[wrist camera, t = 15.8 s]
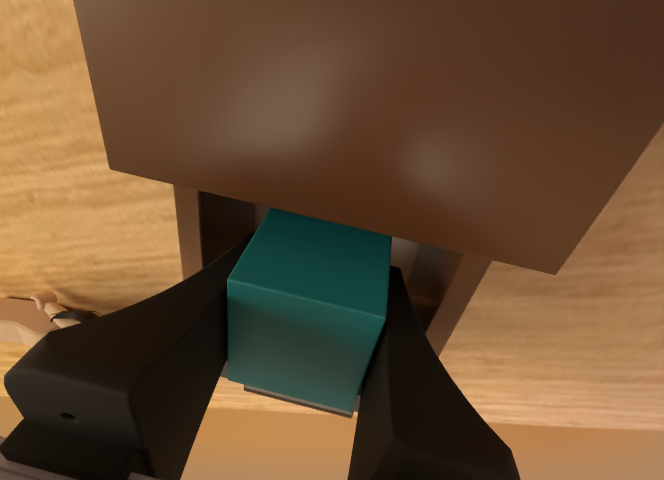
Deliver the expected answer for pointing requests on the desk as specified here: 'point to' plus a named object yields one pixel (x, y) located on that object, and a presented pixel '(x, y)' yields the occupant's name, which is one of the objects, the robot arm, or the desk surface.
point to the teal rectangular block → (307, 308)
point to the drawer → (411, 257)
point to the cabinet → (388, 110)
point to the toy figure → (36, 318)
